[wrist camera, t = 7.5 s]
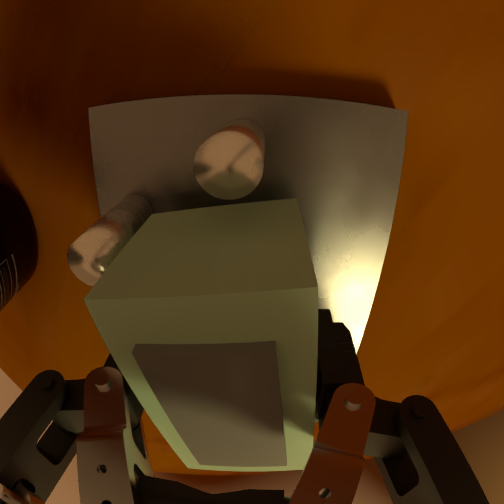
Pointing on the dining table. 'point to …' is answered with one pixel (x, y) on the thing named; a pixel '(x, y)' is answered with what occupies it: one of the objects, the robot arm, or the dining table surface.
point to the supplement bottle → (15, 246)
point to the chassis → (254, 178)
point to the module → (218, 332)
